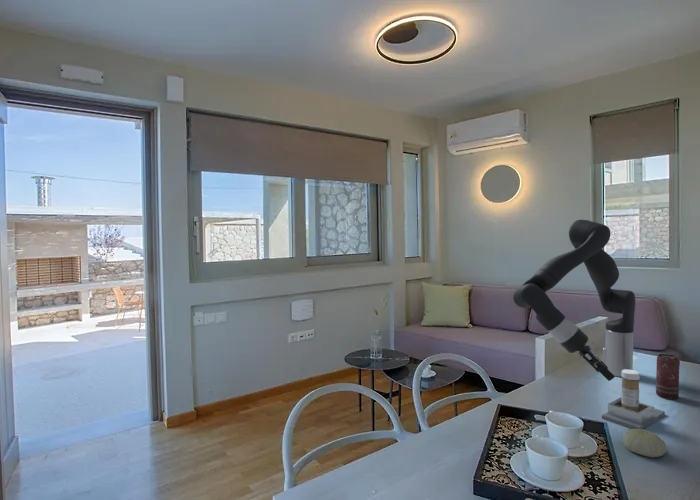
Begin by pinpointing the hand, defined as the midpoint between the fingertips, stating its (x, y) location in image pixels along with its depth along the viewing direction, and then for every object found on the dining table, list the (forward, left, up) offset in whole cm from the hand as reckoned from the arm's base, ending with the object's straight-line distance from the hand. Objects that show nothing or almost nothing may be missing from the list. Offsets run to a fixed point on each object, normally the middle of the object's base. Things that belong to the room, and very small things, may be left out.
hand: (608, 374), depth 128 cm
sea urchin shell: (+15, -13, -13) cm, 24 cm away
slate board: (+5, +6, -13) cm, 15 cm away
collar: (+5, +4, -12) cm, 13 cm away
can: (+5, +32, -13) cm, 35 cm away
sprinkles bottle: (+5, +4, -12) cm, 14 cm away
